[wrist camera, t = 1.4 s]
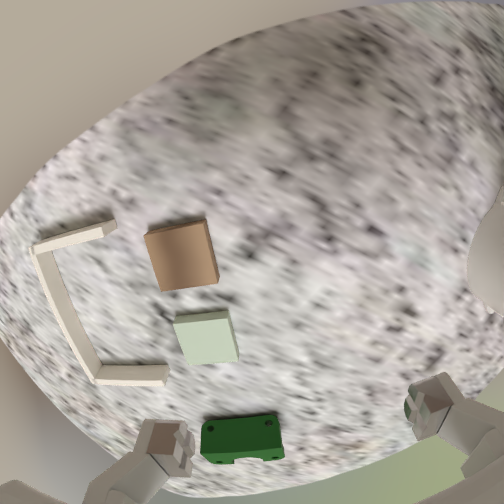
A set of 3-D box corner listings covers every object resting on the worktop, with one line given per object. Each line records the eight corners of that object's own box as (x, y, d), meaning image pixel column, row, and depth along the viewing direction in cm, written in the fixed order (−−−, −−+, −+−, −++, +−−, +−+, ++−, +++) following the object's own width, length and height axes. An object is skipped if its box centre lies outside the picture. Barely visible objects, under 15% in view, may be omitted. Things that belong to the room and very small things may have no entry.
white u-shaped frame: (114, 219, 27) (101, 226, 24) (170, 370, 34) (164, 386, 31) (42, 239, 28) (27, 247, 25) (100, 370, 34) (92, 383, 32)
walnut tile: (206, 218, 27) (202, 223, 25) (220, 274, 29) (217, 283, 27) (150, 229, 28) (143, 235, 26) (166, 282, 30) (161, 291, 28)
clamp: (225, 417, 42) (203, 461, 35) (215, 401, 39) (189, 449, 32) (294, 433, 38) (276, 483, 31) (291, 418, 34) (270, 475, 27)
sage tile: (228, 308, 31) (227, 318, 29) (239, 350, 33) (238, 361, 31) (176, 314, 31) (172, 324, 29) (191, 354, 33) (188, 365, 31)
